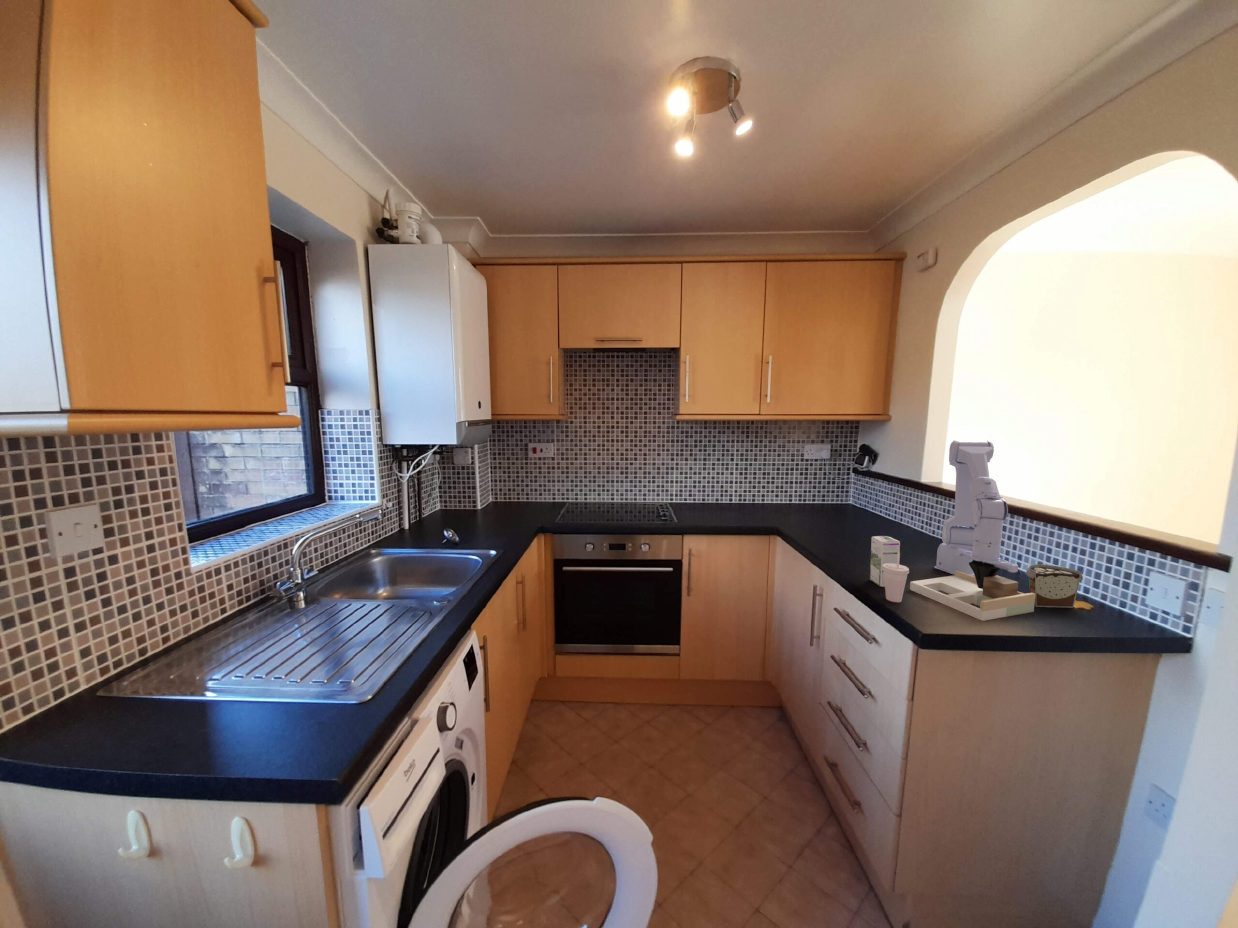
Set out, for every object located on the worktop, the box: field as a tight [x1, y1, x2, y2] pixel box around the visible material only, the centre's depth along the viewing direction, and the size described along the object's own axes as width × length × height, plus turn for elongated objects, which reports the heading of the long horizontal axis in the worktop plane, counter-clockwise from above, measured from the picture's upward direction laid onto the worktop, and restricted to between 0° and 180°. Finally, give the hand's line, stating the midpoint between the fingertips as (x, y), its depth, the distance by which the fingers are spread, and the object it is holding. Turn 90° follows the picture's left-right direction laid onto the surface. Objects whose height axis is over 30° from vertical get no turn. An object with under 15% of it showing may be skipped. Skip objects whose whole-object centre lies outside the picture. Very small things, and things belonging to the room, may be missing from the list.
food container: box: [1025, 563, 1084, 609], centre depth 114 cm, size 12×6×10 cm, turn 84°
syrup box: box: [869, 535, 901, 588], centre depth 128 cm, size 6×6×14 cm
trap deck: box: [909, 571, 1035, 622], centre depth 116 cm, size 20×18×5 cm
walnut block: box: [982, 574, 1019, 599], centre depth 112 cm, size 5×5×5 cm
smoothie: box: [882, 552, 910, 603], centre depth 117 cm, size 6×6×14 cm
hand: (982, 587), depth 116 cm, fingers closed
